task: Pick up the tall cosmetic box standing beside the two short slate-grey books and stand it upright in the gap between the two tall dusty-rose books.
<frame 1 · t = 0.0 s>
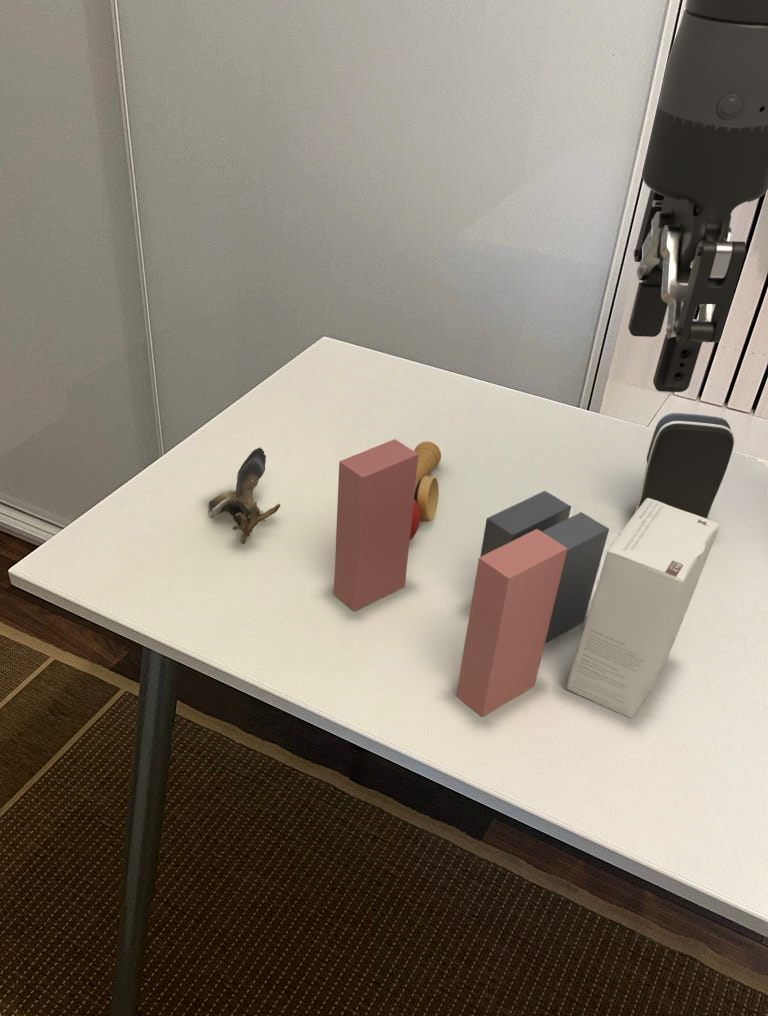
hand: (655, 360, 68), 25 cm above the table, tool pointing down, fingers open, 8 cm apart
grey book 1: (544, 628, 85), on the table
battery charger: (665, 522, 97), on the table
grey book 2: (510, 604, 87), on the table
rose book 2: (369, 590, 89), on the table
kendama: (402, 511, 98), on the table
cosmetic box: (616, 680, 80), on the table
rose book 1: (495, 690, 79), on the table
eagle figurine: (243, 521, 97), on the table
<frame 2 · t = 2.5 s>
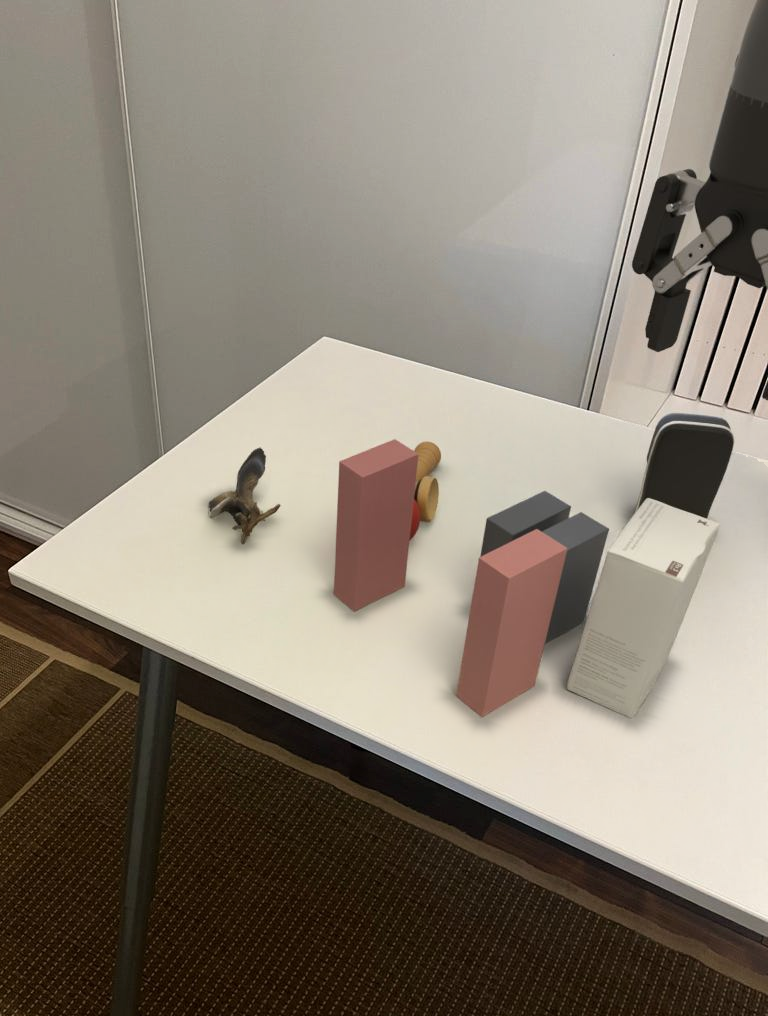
hand: (715, 371, 62), 27 cm above the table, tool pointing down, fingers open, 8 cm apart
nothing on the table moved.
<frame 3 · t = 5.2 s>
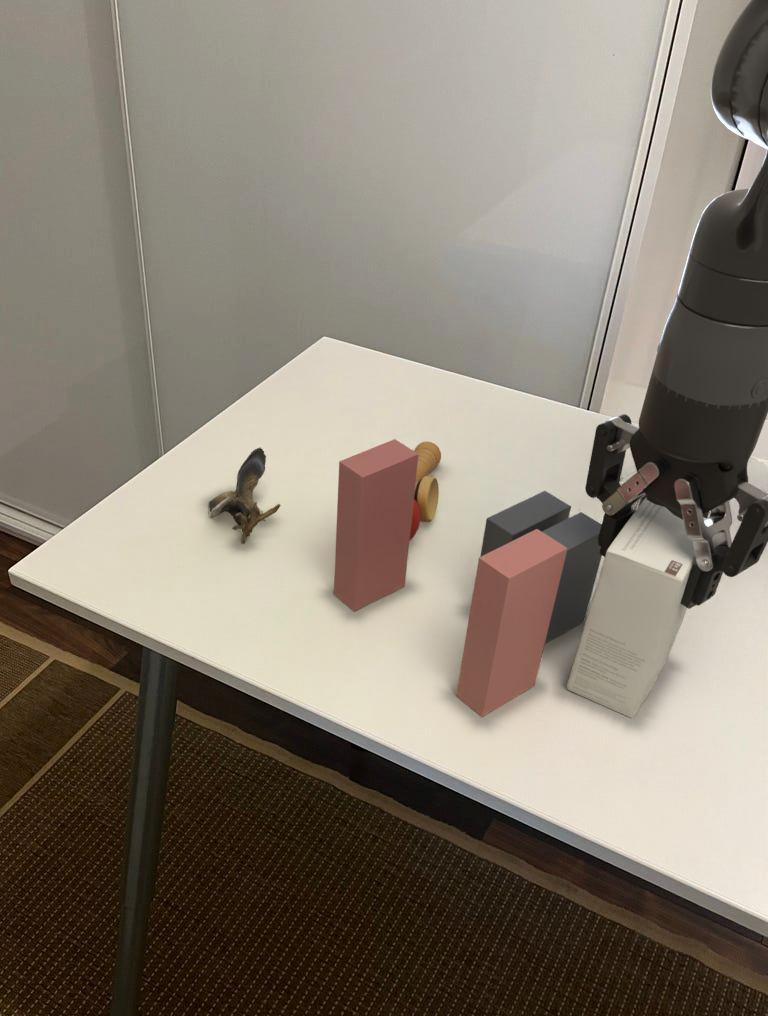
hand: (650, 576, 73), 11 cm above the table, tool pointing down, fingers closed on cosmetic box, 7 cm apart
cosmetic box: (617, 680, 80), on the table, touching gripper
everything else where it was.
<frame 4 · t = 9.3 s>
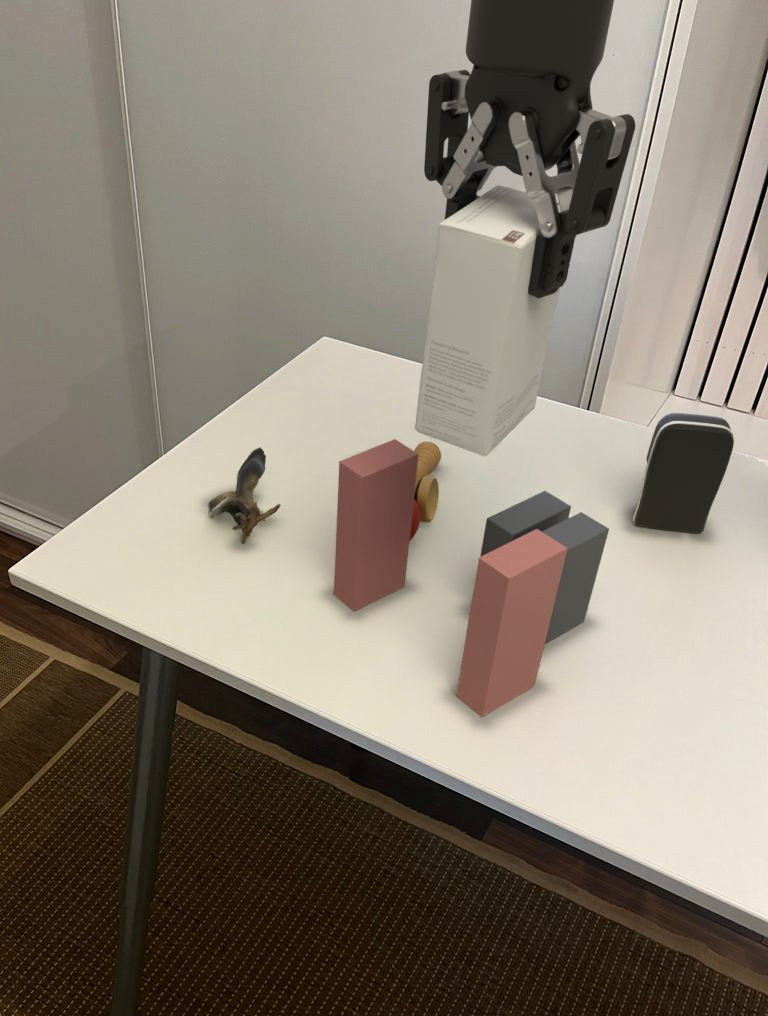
hand: (499, 274, 62), 32 cm above the table, tool pointing down, fingers closed on cosmetic box, 7 cm apart
cosmetic box: (475, 426, 70), point 21 cm above the table, touching gripper
everything else where it was.
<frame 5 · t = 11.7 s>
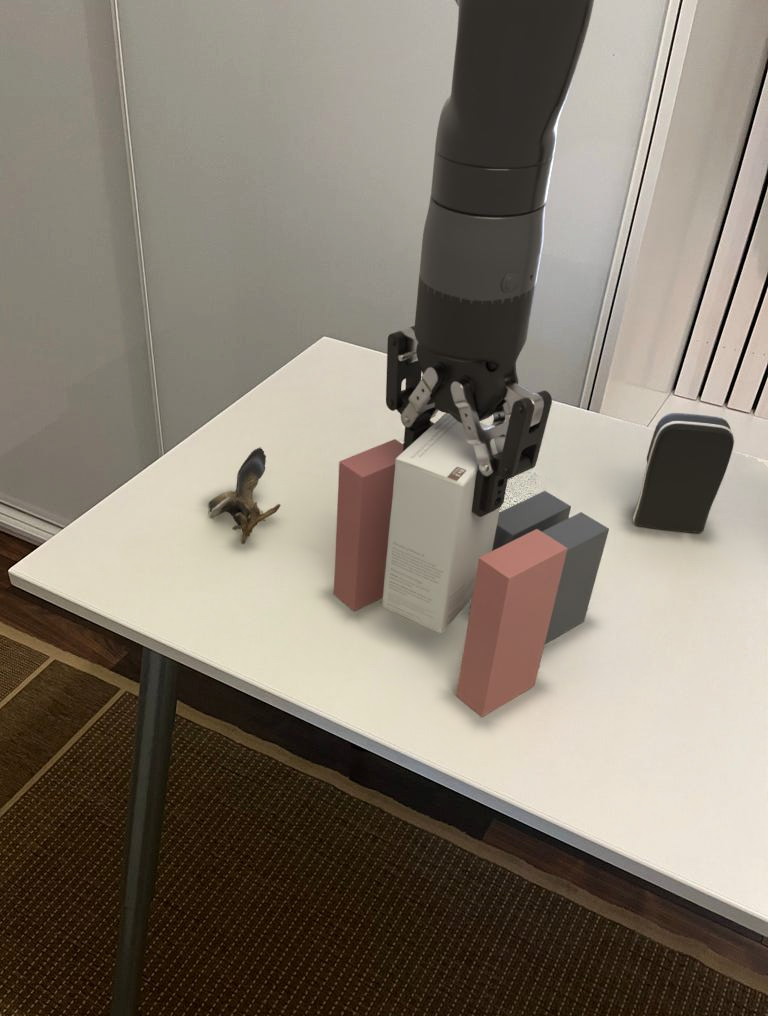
hand: (449, 488, 74), 15 cm above the table, tool pointing down, fingers closed on cosmetic box, 7 cm apart
cosmetic box: (435, 599, 81), point 4 cm above the table, touching gripper
everything else where it was.
when the fingers open (11 cm above the table, at t = 13.7 s): cosmetic box stays where it is, on the table.
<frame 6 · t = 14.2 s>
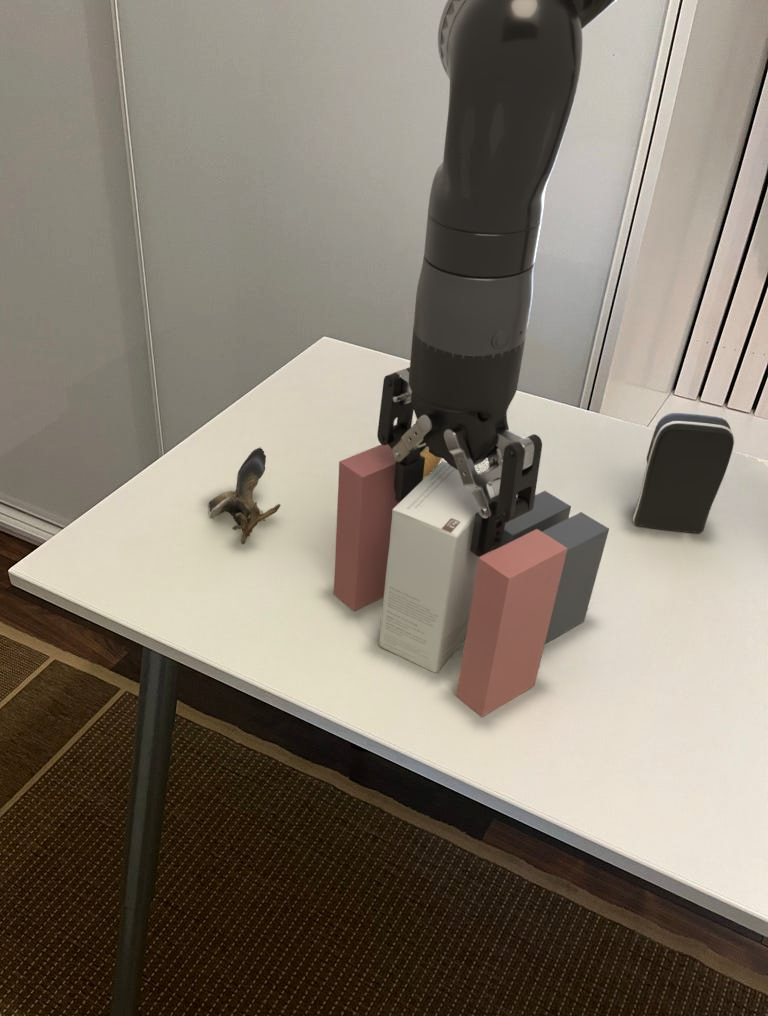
hand: (444, 524, 76), 12 cm above the table, tool pointing down, fingers open, 8 cm apart
cosmetic box: (430, 638, 84), on the table
everything else where it was.
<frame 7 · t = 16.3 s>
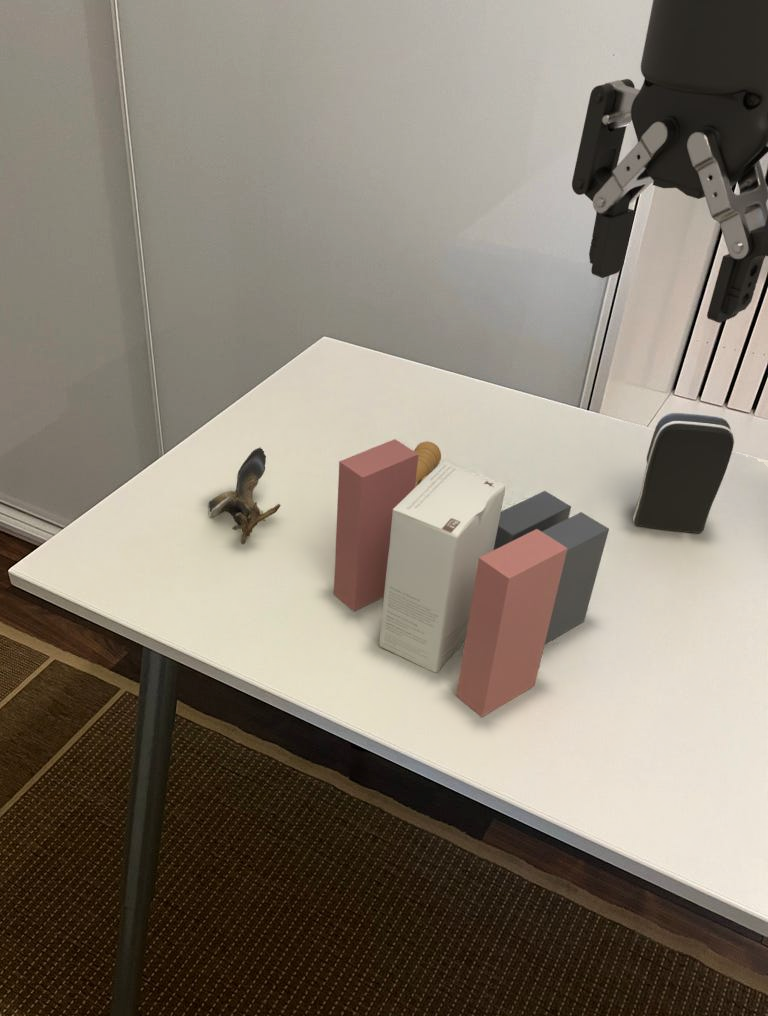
hand: (661, 294, 59), 32 cm above the table, tool pointing down, fingers open, 8 cm apart
nothing on the table moved.
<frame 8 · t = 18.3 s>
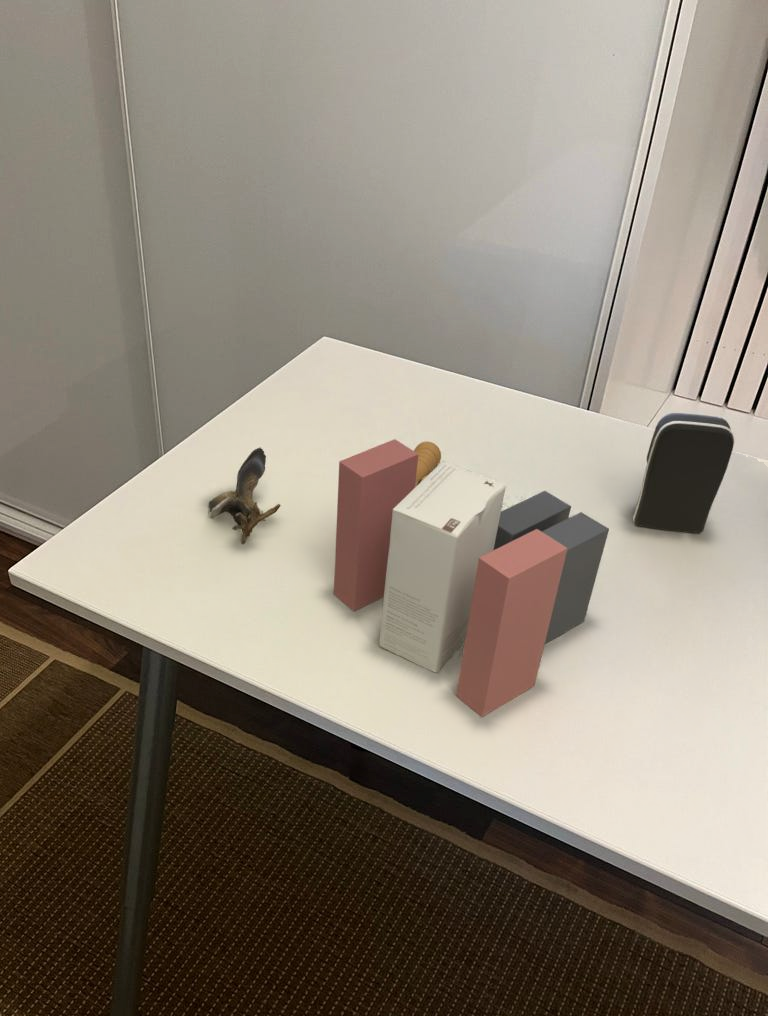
nothing on the table moved.
at the end: cosmetic box 0.2 cm from the target spot, on the table; cosmetic box tilted 0°; the gripper is holding nothing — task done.
